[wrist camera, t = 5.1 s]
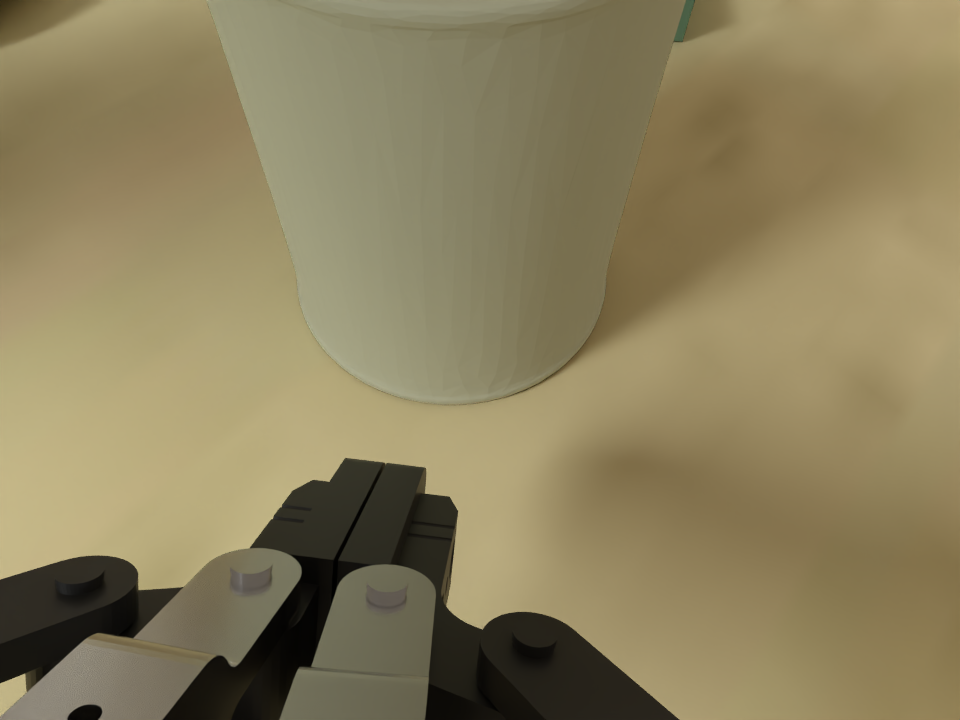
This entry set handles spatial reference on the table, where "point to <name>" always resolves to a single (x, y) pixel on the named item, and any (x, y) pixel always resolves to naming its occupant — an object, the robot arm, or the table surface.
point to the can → (449, 173)
